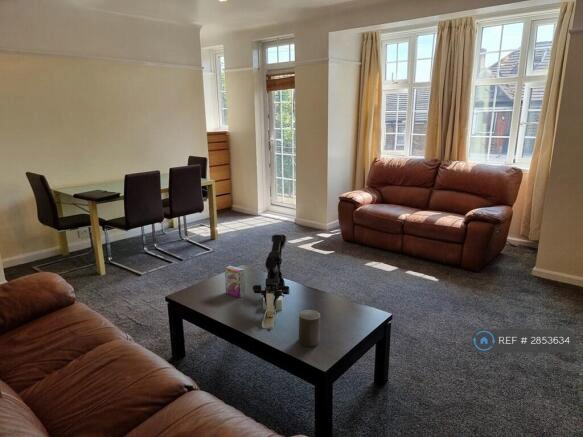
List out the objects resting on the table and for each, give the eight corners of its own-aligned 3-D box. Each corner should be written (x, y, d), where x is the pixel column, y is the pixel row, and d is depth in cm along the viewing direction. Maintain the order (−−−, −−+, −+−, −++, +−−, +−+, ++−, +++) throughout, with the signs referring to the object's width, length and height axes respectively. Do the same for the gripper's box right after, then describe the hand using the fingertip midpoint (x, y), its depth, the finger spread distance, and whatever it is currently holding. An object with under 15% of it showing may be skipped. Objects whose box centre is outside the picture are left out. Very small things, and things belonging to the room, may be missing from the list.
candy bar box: (225, 293, 239) (224, 267, 235) (231, 290, 243) (230, 265, 239) (240, 298, 233) (239, 271, 229) (245, 295, 237) (244, 268, 233)
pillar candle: (304, 349, 182) (304, 318, 179) (295, 338, 191) (295, 309, 187) (323, 344, 186) (324, 314, 182) (313, 334, 195) (314, 305, 191)
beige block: (270, 305, 222) (269, 283, 218) (276, 306, 221) (276, 283, 218) (266, 316, 210) (266, 293, 206) (273, 317, 209) (273, 293, 206)
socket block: (264, 305, 224) (264, 295, 223) (282, 306, 223) (282, 296, 222) (263, 309, 219) (263, 299, 218) (281, 310, 218) (281, 300, 217)
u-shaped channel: (266, 314, 214) (266, 309, 213) (276, 314, 214) (276, 309, 213) (262, 328, 200) (261, 322, 199) (272, 328, 200) (272, 323, 199)
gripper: (252, 270, 210) (249, 299, 202) (289, 271, 208) (286, 300, 200) (255, 278, 219) (252, 306, 211) (290, 279, 218) (288, 308, 210)
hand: (269, 305), depth 208 cm, fingers closed on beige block, 3 cm apart
